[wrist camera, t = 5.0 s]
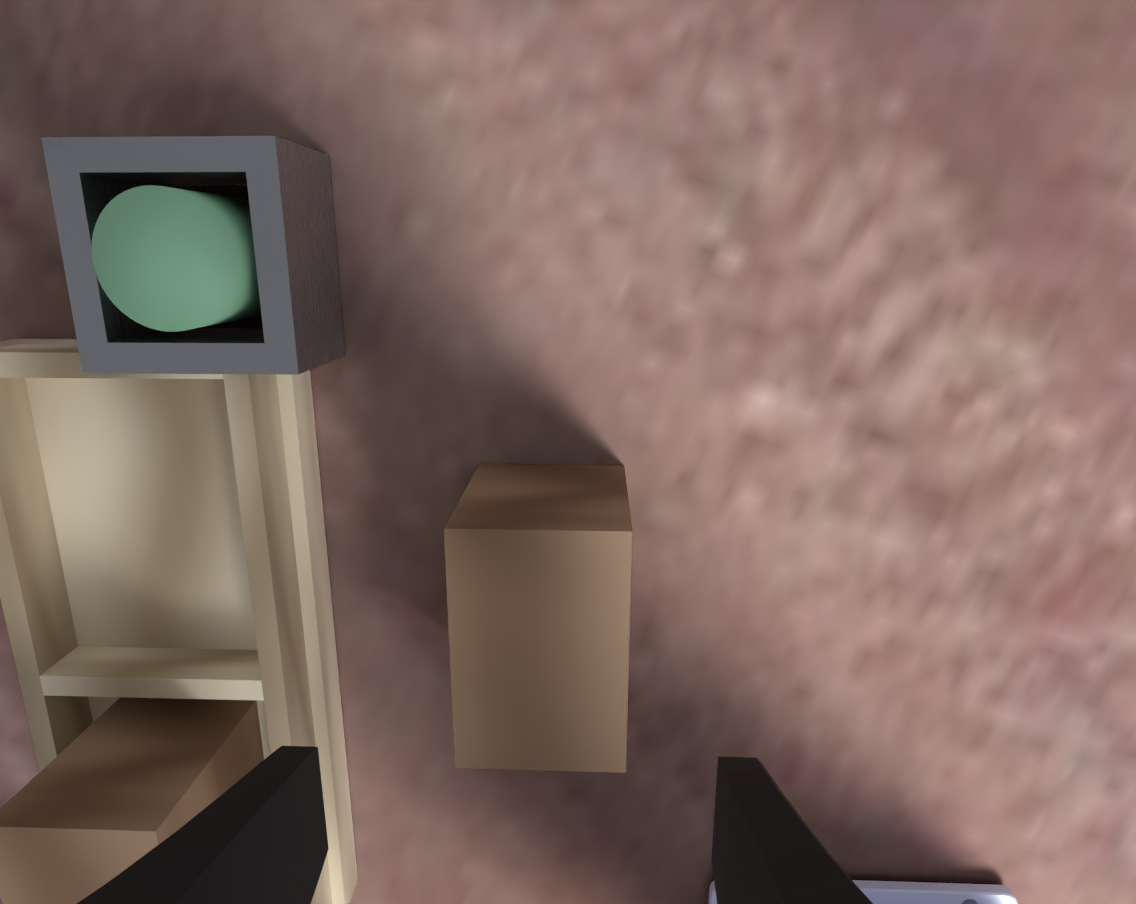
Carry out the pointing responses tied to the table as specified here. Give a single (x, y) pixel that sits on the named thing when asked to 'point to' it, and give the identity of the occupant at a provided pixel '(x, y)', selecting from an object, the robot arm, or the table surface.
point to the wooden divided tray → (170, 556)
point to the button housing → (281, 243)
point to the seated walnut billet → (121, 793)
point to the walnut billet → (540, 618)
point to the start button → (177, 257)
